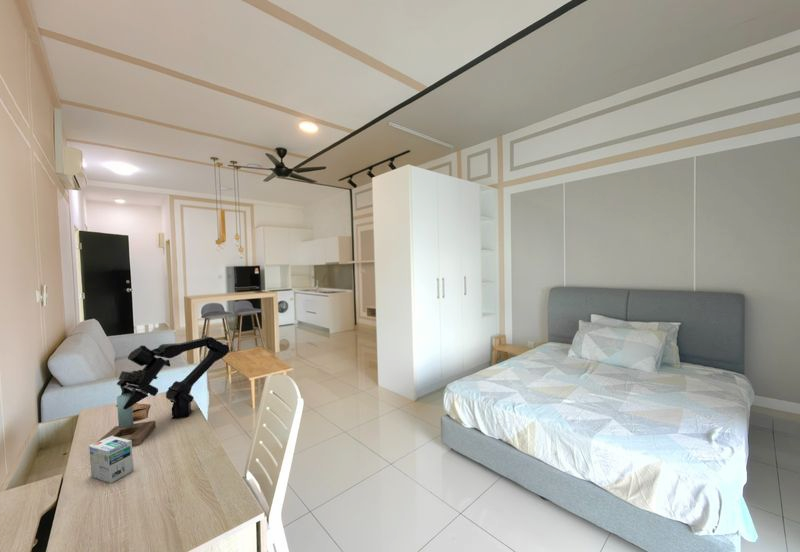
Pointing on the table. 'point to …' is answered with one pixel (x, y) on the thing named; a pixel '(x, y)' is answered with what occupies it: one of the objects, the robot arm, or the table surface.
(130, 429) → the brown flat square frame
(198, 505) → the table surface
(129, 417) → the stool leg
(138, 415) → the sunglasses case
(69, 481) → the table surface
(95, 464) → the light bulb box
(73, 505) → the table surface
